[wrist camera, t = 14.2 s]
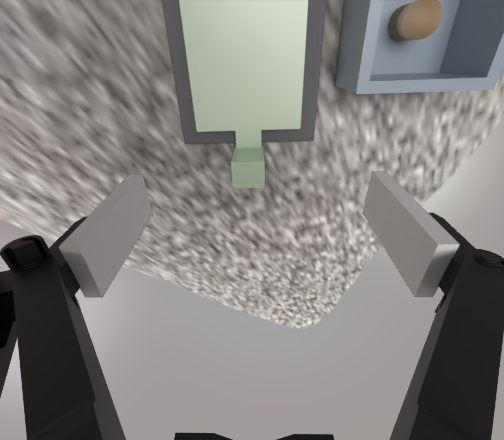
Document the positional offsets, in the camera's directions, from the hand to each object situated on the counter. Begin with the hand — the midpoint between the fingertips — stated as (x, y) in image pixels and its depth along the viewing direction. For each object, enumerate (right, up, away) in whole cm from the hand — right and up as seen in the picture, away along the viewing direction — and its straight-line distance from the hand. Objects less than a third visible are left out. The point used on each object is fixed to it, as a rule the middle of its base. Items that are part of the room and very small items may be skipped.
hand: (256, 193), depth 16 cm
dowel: (+15, +18, +11) cm, 26 cm away
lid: (-1, +15, +13) cm, 20 cm away
